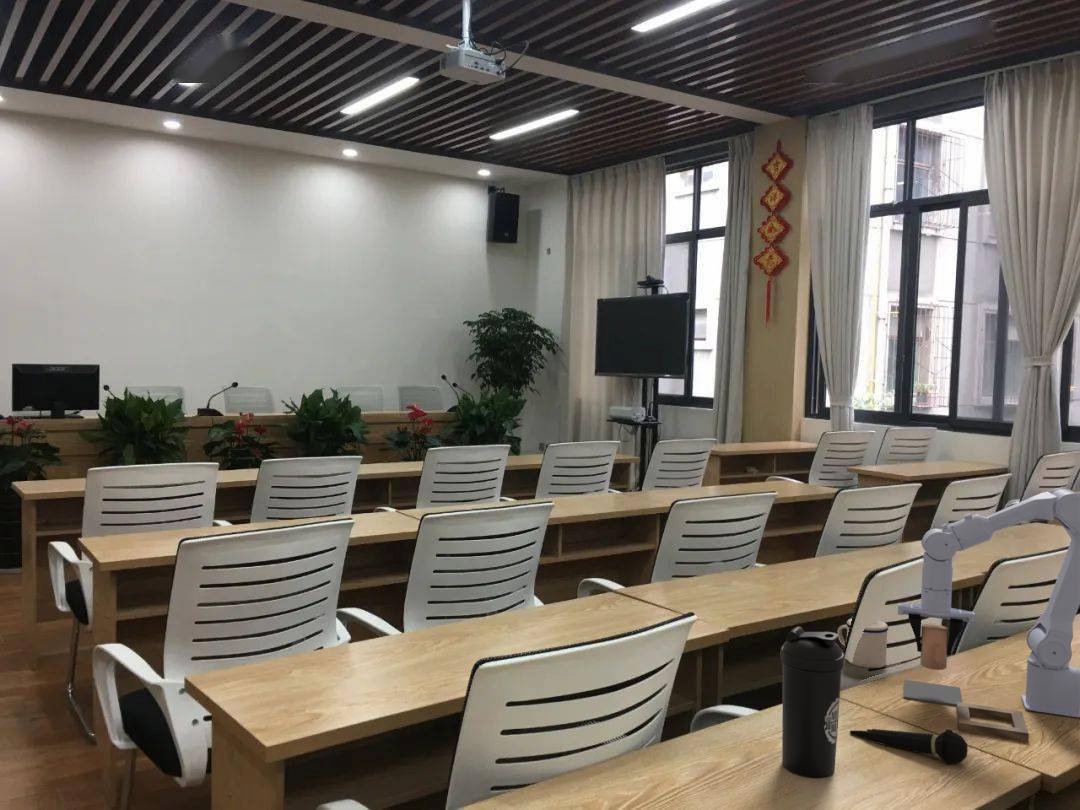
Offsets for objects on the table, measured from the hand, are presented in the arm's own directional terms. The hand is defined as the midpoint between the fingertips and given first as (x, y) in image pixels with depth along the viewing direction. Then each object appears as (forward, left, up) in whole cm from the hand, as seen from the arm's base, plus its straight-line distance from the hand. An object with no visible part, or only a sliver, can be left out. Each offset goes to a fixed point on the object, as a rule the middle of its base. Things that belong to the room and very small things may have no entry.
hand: (933, 652), depth 186 cm
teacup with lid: (+15, -16, -9) cm, 24 cm away
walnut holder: (-10, +13, -9) cm, 19 cm away
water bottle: (+20, +47, -9) cm, 52 cm away
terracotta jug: (0, 0, -3) cm, 3 cm away
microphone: (+4, +31, -9) cm, 33 cm away
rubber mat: (0, 0, -9) cm, 9 cm away
